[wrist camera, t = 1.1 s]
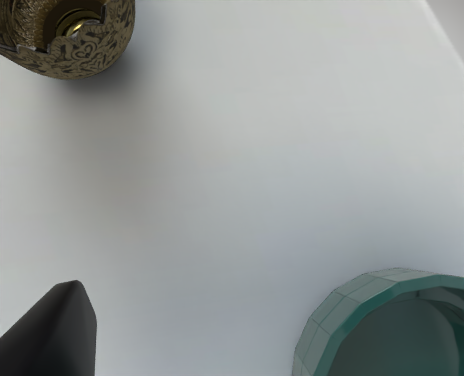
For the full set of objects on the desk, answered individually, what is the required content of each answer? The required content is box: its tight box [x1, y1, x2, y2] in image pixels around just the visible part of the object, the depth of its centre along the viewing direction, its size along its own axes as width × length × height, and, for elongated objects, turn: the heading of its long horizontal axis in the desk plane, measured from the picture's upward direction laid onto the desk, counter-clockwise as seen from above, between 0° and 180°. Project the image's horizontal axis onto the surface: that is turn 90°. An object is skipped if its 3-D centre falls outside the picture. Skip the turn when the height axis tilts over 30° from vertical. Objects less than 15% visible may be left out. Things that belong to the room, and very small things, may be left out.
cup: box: [0, 0, 135, 80], centre depth 20 cm, size 8×7×8 cm
